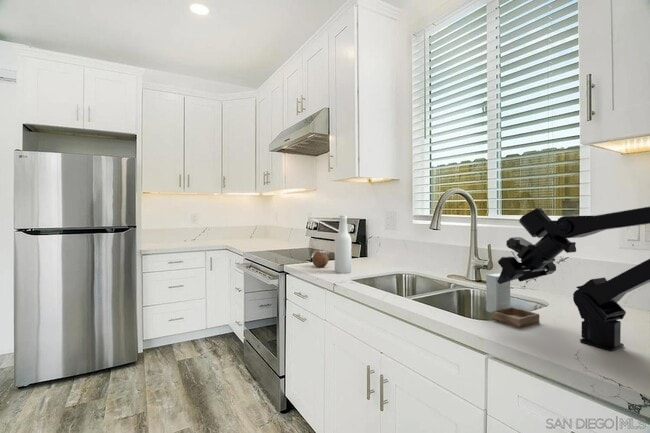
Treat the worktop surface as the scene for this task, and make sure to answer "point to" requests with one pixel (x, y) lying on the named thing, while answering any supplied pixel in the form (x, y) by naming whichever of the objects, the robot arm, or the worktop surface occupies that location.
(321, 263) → the onion
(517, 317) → the walnut tray
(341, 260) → the alcohol
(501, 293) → the skincare box
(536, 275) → the robot arm
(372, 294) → the worktop surface
